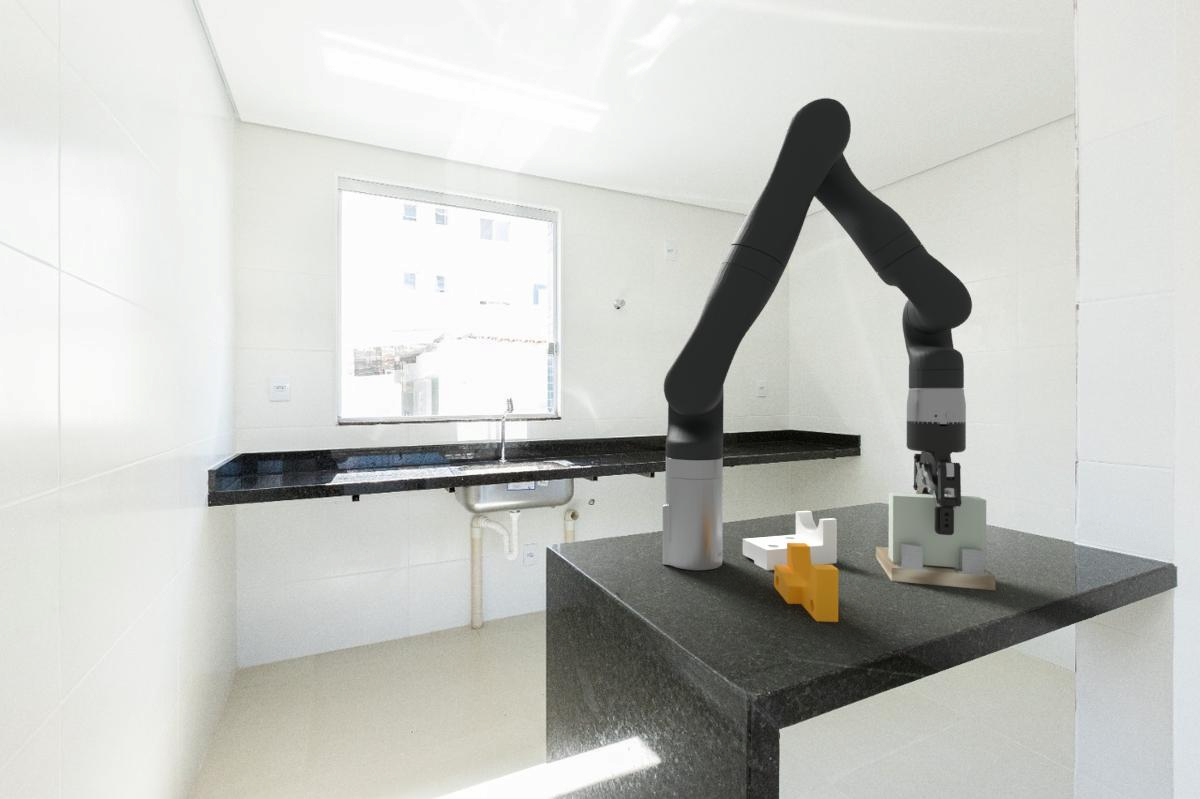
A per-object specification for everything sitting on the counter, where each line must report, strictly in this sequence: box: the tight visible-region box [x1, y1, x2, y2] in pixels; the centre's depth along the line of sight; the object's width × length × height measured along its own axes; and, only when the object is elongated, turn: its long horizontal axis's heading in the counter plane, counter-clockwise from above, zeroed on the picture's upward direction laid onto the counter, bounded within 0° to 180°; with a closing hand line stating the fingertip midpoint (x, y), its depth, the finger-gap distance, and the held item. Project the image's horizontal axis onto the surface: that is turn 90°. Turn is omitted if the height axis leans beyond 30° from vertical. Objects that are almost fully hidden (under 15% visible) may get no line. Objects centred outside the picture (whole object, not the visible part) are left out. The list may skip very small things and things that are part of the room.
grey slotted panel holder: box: [895, 543, 988, 576], centre depth 81 cm, size 11×7×4 cm, turn 73°
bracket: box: [742, 510, 838, 571], centre depth 89 cm, size 13×7×8 cm, turn 106°
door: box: [888, 492, 987, 570], centre depth 80 cm, size 12×4×10 cm, turn 73°
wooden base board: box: [875, 546, 996, 591], centre depth 83 cm, size 13×12×2 cm
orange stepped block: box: [773, 543, 840, 623], centre depth 71 cm, size 12×4×6 cm, turn 177°
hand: (935, 527), depth 81 cm, fingers open, 8 cm apart
